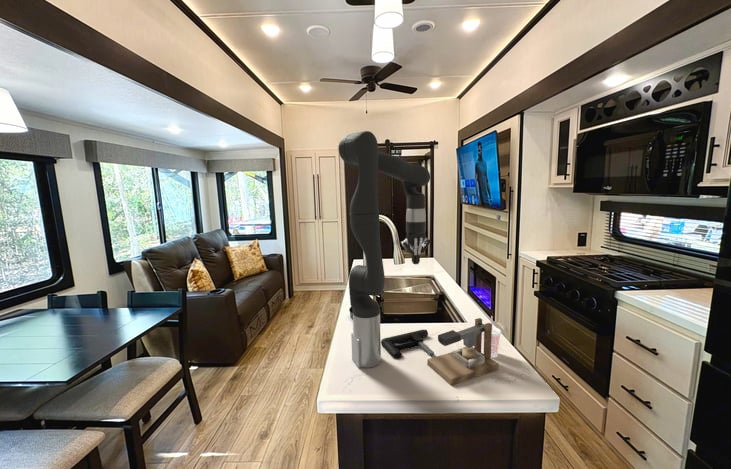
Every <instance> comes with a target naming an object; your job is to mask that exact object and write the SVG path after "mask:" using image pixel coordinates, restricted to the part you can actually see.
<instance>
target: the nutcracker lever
mask: <svg viewBox="0 0 731 469" xmlns="http://www.w3.org/2000/svg"><path fill="white" fill-rule="evenodd" d="M484 326H485V323H483V322H482V323H480V324H479V325H476V326H475V325H474V326H471V327H467V328H465V329H462V330H459V331H455V330H453V329H452V330H449V331H446V332H443V333H440V334H437V341H438V342H439V343H440V344H441V345H442V346H443V347H448V346H450V345H453V344H455V343H457V342H461V341H462V340H463V344H462V345H463V346H464V347H468V348H470V347H473V348H474V346H475V345H476V334H479V333H482V334H483V332H484Z"/></svg>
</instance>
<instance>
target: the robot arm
mask: <svg viewBox="0 0 731 469" xmlns="http://www.w3.org/2000/svg"><path fill="white" fill-rule="evenodd" d="M337 147H338V150H337V151H338V154H339V157H340V158H341V160H342V161H343V162H344V163H346V164H349V165H354V166H358V168H357V169H358V180H357V185H356V188H355V191H354V193H353V196H352V198H351V201H350V205H349V222H350V229H351V231H352V234H353V237H355V240H356V242H358V244H359V246H360V247H361V250H362V252H363V253H364V256H365V257H364V258H365V261H366V265H361V264H358V265H354V266H353V267H352V269H351V270H350V273H349V276H348V289H349V290H348V292H349V302H350V307H351V310H352V330H353V331H352V332H351V335H350V336H351V337H350V338H351V358H352V359H351V360H352V361H353V362H354V364H355V366H356V367H357V368H358V369H360V368H365V369H366V368H367V369H368V368H374V367H377V366H379V364H380V363H381V362H382V360H381V359H382V353H381V352H382V351H381V346H382V345H381V305H380V303H378V301H376V300H375V299H373V298H372V297H378V296H380V295H381V294H382V293H383V291H384V287H385V280H386V279H385V269H384V268H385V267H384V261H383V257H382V256H383V255H382V246H381V236H380V235H381V234H380V233H381V230H380V229H381V228H380V227H381V226H380V225H381V224H380V208H379V190H378V188H379V187H378V186H379V185H378V184H379V183H378V181H379V180H378V179H379V178H378V175H379V174H378V173H379V172H380V173H382V174H385V175H387V176H389V177H391V178H393V179H395V180H398V181H401V182H402V185H403V189H404V194H405V197H406V213H405V214H406V215H405V232H406V235H405V239H404V240H402V241H400V244H401V246H402V247H403V249H404V250H405V251H406V253H407V254H410V255H411V262H412V264H413V265H419V264H420V261H421V260H420V259H421V258H420V257H421V254H423V253H425V251H426V250H427V248H428V247H429V245H430V243H431V242H432V241H431V239H428V238H427V235H426V230H427V222H426V220H427V219H426V218H427V217H426V216H427V214H426V196H425V194H424V193H422V192H418V191H417V187H424V186H427V185H428V184H429V183H430V180H431V174H430V171H429V170H428V168H427V167H424V166H423V165H420V164H415V163H410V162H408V161H406V160H405V159H403V158H401V157H399V156H396V155H393V154H389V153H386V152H385V153H384V152H380V151H379V143H378V140H377V138H376V136H375V134H374V133H373V132H372V131H368V130H364V131H359V132H355V133H351V134H347V135H345V136H343V137H342V138H341V139H340V140H339V142H338V146H337ZM371 296H372V297H371Z"/></svg>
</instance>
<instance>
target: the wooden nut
mask: <svg viewBox="0 0 731 469" xmlns="http://www.w3.org/2000/svg"><path fill="white" fill-rule="evenodd" d="M462 356H463V357H464V358H466V359H467V360H470V359H473V358H475V349H474V347H473V348H472V347H470V348H468V347H466V346H463V347H462Z"/></svg>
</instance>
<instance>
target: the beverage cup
mask: <svg viewBox="0 0 731 469" xmlns="http://www.w3.org/2000/svg"><path fill="white" fill-rule="evenodd" d="M493 318H494V317H493V315H491V316H490V323H491V324H492V325H493ZM501 333H502V330H501V329H500V328H499V327H495V326H492V339H491V359H493V358H497V357H498V352H499V345H500V337H501V336H500V335H501ZM482 341H483V342H482V346H483V348H482V349H483V352H482V353H484V332H482Z"/></svg>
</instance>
